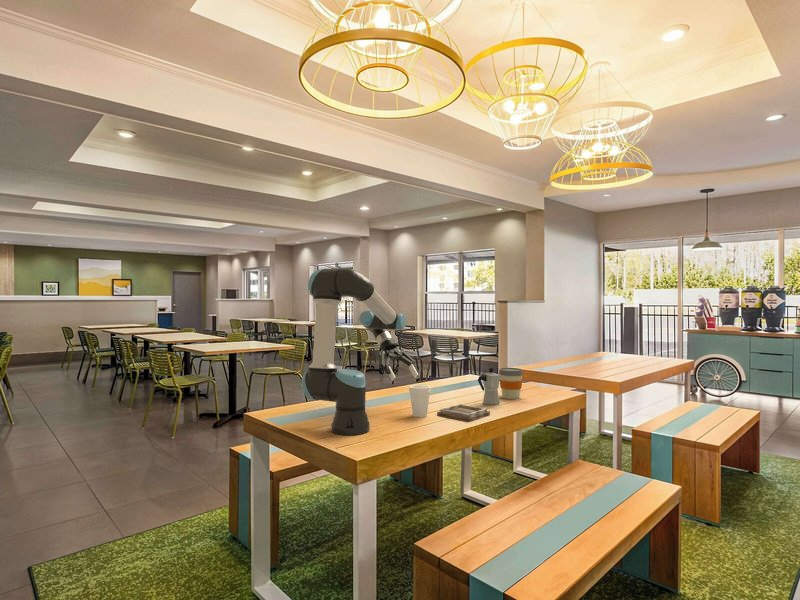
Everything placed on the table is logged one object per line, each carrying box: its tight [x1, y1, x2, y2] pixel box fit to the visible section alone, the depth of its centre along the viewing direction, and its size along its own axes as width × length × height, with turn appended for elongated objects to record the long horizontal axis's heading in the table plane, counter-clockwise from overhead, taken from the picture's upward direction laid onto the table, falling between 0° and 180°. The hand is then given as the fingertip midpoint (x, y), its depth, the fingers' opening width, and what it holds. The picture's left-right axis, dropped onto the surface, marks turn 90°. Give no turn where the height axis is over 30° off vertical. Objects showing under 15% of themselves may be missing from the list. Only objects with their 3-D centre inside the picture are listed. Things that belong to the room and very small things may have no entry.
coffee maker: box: [477, 367, 500, 406], centre depth 230 cm, size 15×9×18 cm, turn 121°
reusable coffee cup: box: [498, 367, 524, 400], centre depth 246 cm, size 13×13×15 cm
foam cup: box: [408, 384, 431, 418], centre depth 205 cm, size 10×9×13 cm
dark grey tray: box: [436, 403, 491, 423], centre depth 206 cm, size 17×17×3 cm
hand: (405, 377), depth 213 cm, fingers open, 13 cm apart
